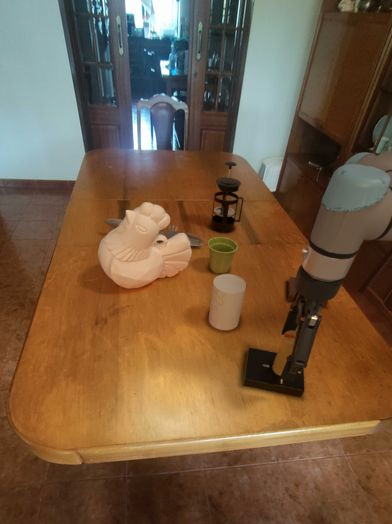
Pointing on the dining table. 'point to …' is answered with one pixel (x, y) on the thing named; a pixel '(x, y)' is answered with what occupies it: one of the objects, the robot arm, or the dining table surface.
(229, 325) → the cup
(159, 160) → the dining table surface
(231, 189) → the french press
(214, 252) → the plant pot
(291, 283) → the switch block
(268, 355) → the dimmer
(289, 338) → the dimmer knob
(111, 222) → the spaceship
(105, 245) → the decorative rooster
